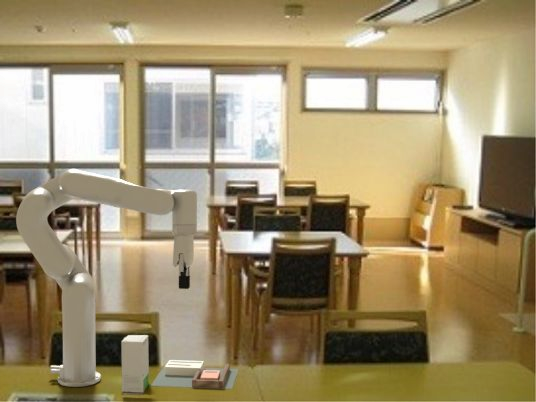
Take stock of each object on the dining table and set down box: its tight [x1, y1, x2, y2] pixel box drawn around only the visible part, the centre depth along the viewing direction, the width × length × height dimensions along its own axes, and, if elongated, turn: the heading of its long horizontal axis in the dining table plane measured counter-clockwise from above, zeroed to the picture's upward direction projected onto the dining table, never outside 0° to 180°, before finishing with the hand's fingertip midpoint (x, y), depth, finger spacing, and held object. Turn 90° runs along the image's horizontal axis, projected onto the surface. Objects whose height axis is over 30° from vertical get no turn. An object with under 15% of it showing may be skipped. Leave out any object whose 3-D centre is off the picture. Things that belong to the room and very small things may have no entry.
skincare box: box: [120, 334, 150, 396], centre depth 202 cm, size 8×7×16 cm
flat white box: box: [165, 359, 205, 376], centre depth 217 cm, size 11×7×3 cm, turn 86°
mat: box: [150, 365, 240, 390], centre depth 212 cm, size 24×18×1 cm
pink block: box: [201, 370, 220, 380], centre depth 208 cm, size 5×7×3 cm
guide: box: [191, 363, 231, 389], centre depth 211 cm, size 9×17×2 cm, turn 176°
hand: (184, 288), depth 216 cm, fingers closed
